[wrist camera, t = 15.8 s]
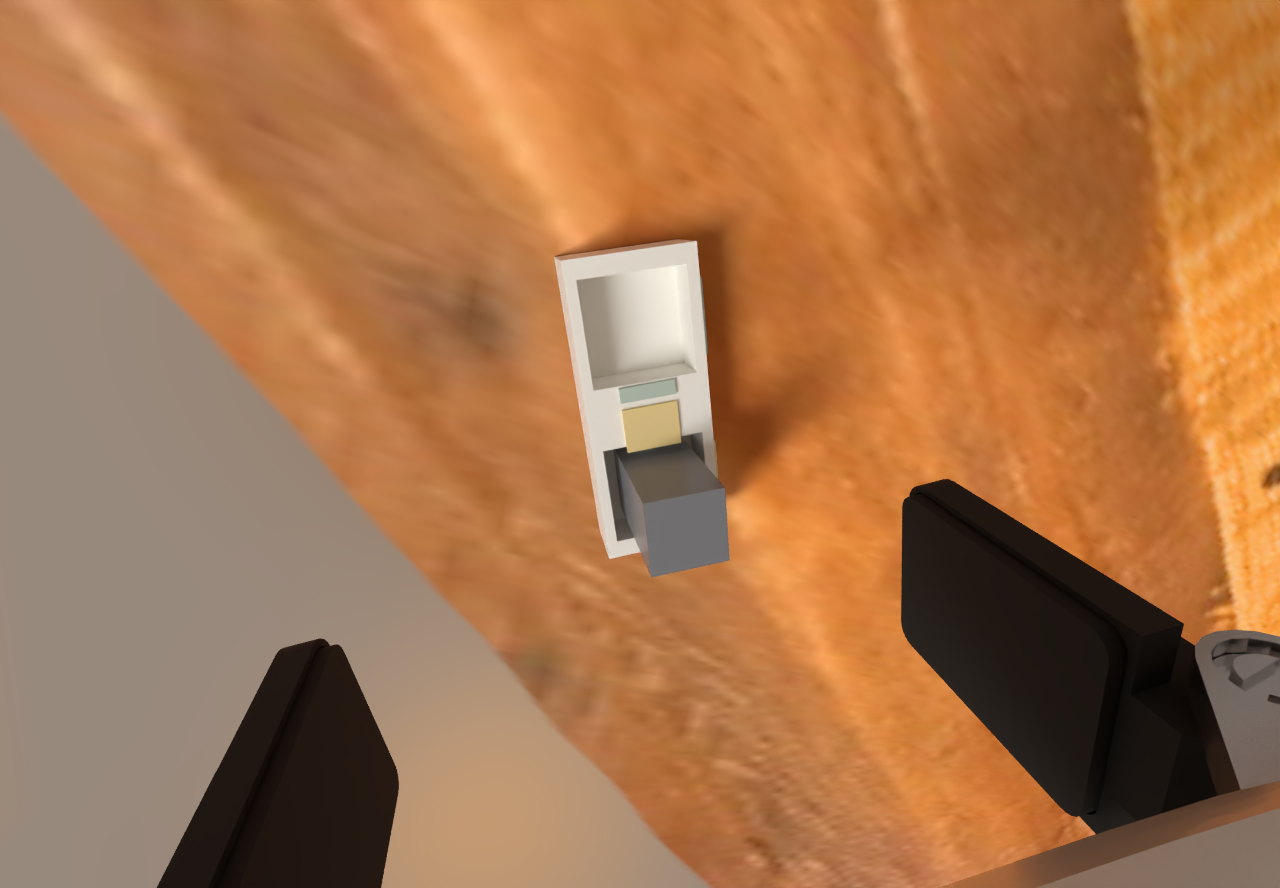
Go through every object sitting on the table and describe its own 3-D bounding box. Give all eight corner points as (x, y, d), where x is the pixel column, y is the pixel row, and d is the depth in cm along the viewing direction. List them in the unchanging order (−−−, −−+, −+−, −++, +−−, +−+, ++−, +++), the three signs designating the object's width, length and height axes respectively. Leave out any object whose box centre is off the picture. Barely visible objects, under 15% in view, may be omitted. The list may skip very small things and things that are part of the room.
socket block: (681, 238, 33) (701, 240, 30) (706, 507, 39) (725, 534, 36) (554, 256, 32) (560, 260, 29) (600, 530, 38) (609, 560, 35)
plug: (678, 433, 36) (724, 487, 29) (684, 494, 38) (729, 560, 30) (612, 445, 36) (642, 503, 28) (620, 506, 37) (651, 577, 30)
